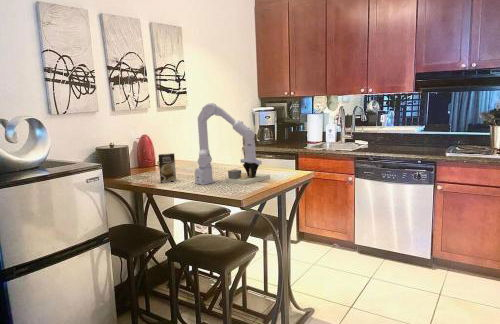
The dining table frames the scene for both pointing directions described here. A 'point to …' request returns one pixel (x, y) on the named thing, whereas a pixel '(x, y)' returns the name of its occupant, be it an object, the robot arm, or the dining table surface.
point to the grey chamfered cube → (234, 174)
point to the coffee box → (167, 167)
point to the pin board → (248, 179)
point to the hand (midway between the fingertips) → (251, 176)
